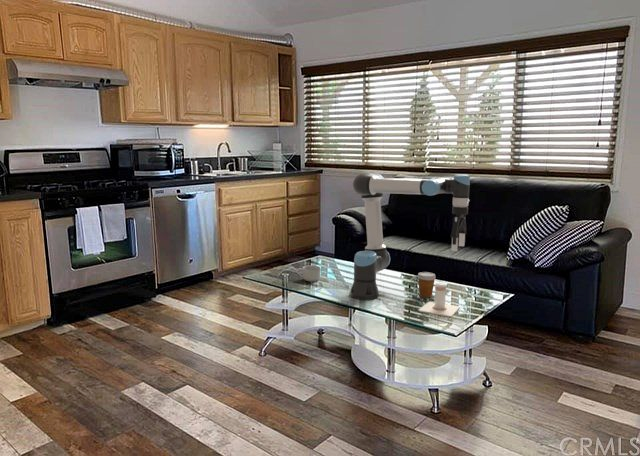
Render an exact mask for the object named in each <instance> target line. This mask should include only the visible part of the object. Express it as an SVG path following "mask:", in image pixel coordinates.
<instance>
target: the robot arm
mask: <svg viewBox="0 0 640 456" xmlns="http://www.w3.org/2000/svg"><path fill="white" fill-rule="evenodd" d="M470 180H471V179H470V175H469V174H454V176H453V177H452V178H451V177H450V178H448V177H439V176H438V177H431V178H393V177H392V178H389V177H387V178H385V177H384V176H383V175H381V174H380V173H378V172H367V173H366V172H363V173H360V174H358V175H356V176H355V177H354V179H353V182H352V188H353V190H354V192H355V193H356V194H358V195H360V196H361V200H362V201H363V202H364V211H365V213H364V214H365V226H366V227H365V228H366V241H367V245H366V246H365V247H364V250H360V251H357V252H356V253H355V254H354V259H353V262H354V263H353V283H352V286H351V288H350V294H349V295H350V297H351V298H354V299H357V300H362V301H363V300H366V301H367V300H370V301H371V300H374V299H378V298H379V297H380V295H379V293H380V292H379V288H378V284H377V274H378V273H379V272H381V271H383V270H385V269H386V268H387V267H388V266H389V265H390V262H391V256H390V253H389V252H388V251H387V246H386V244H384V234H383V221H382V219H383V218H382V206H381V199H383V197H384V195H383V194H394V195H395V194H397V195H398V194H399V195H400V194H401V195H402V194H403V195H424V196H425V195H426V196H429V197H430V196H431V197H432V196H435V195H439V194H452V195H453V196H452V209H451V213H452V214H453V215H455V216H454V217H453V222H452V228H451V231H450V232H451V233H450V235H449V236H450V238H451V249H450V250H451V252H458V247H465V243H466V234H468V232H467V222H466V221H467V219H466V217H467V216H466V215H468V214H469V202H470V199H469V198H470V187H471V186H470V185H471V184H470V183H471V181H470Z"/></svg>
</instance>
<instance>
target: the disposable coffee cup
mask: <svg viewBox="0 0 640 456" xmlns="http://www.w3.org/2000/svg"><path fill="white" fill-rule="evenodd" d="M436 278H437V277H436V274H435V273H433V272H429V271H422V272H418V274H417V279H418V290H419V291H418V292H419V296H420V297H421V298H431V297H432V296H433V291H434V290H433V289H434V286H435V280H436Z"/></svg>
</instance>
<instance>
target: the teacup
mask: <svg viewBox="0 0 640 456" xmlns="http://www.w3.org/2000/svg"><path fill="white" fill-rule="evenodd" d="M321 269H322V267H320V266H318V265H313V264H312V265H311V264H310V265H309V264H308V265H304V266H302V268H301V267H299V268H297V270H296V273H297V275H299V276H300V277H301V278H303V279H304V280H305V281H307V282H311V283H312V282H314V283H315V282H317V281H318V280H319V279H320V278H321ZM300 271H301V272H302V273H300Z"/></svg>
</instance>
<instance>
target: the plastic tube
mask: <svg viewBox="0 0 640 456" xmlns="http://www.w3.org/2000/svg"><path fill="white" fill-rule="evenodd" d="M434 286H435V287H434V289H435V290H434V302H435V305H434V308H435V309H438V310H444V309H445V304H446V293H447V292H446V291H447V284H446V283H443V282H437V283H434Z"/></svg>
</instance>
